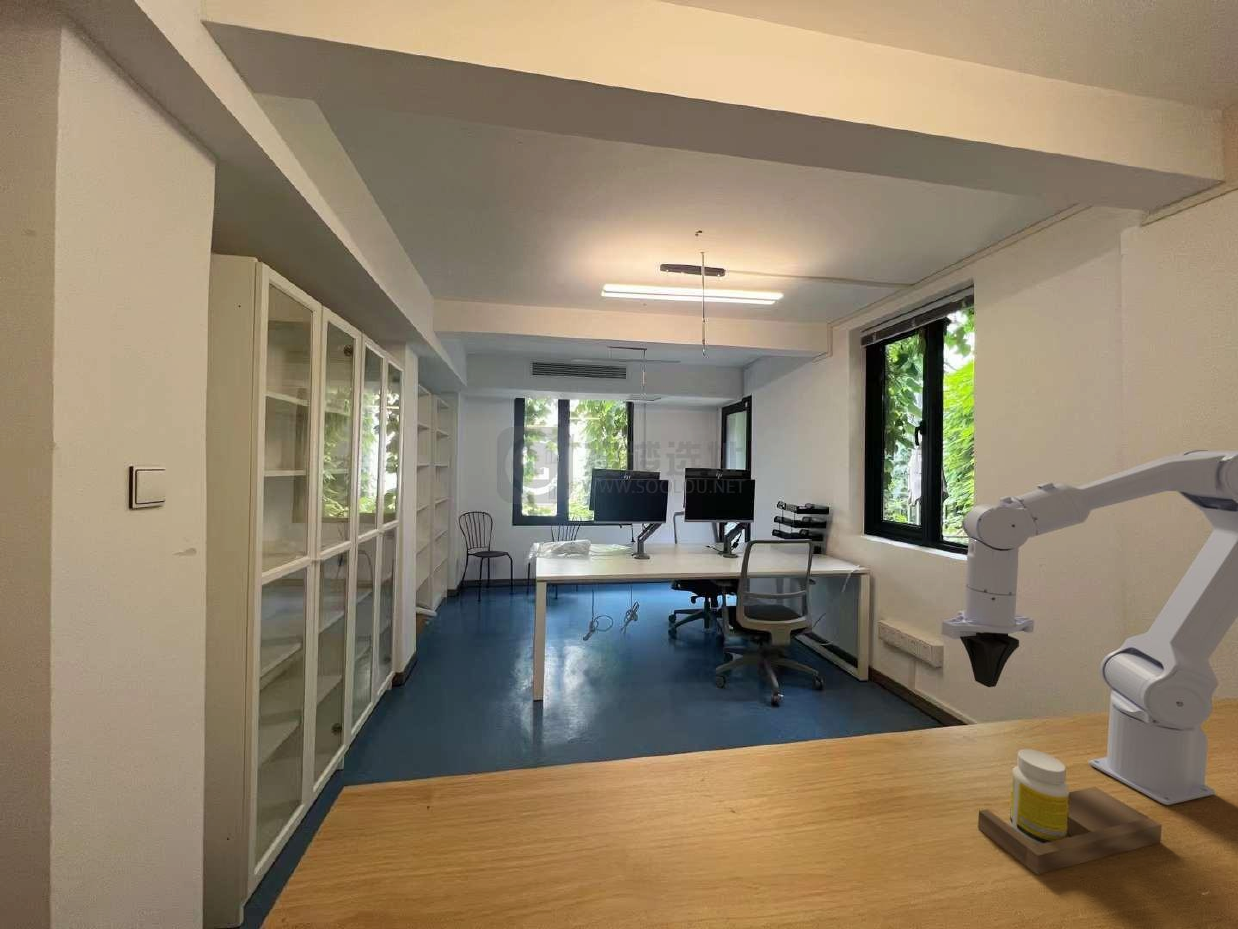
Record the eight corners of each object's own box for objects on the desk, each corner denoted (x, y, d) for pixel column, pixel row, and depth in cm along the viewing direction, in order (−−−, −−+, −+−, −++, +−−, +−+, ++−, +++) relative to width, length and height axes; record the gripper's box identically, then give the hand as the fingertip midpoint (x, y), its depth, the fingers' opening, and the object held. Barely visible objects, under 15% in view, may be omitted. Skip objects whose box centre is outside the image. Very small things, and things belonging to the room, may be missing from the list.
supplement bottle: (1078, 855, 50) (1083, 777, 50) (1028, 848, 51) (1032, 771, 51) (1045, 820, 55) (1049, 749, 55) (999, 814, 56) (1003, 744, 55)
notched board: (1093, 803, 58) (1094, 786, 58) (1160, 842, 52) (1161, 824, 52) (977, 828, 53) (978, 811, 53) (1036, 875, 48) (1037, 855, 48)
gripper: (1000, 579, 73) (995, 666, 74) (924, 583, 70) (920, 675, 70) (1052, 593, 67) (1046, 689, 67) (971, 598, 63) (965, 699, 63)
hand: (985, 683), depth 68 cm, fingers closed
